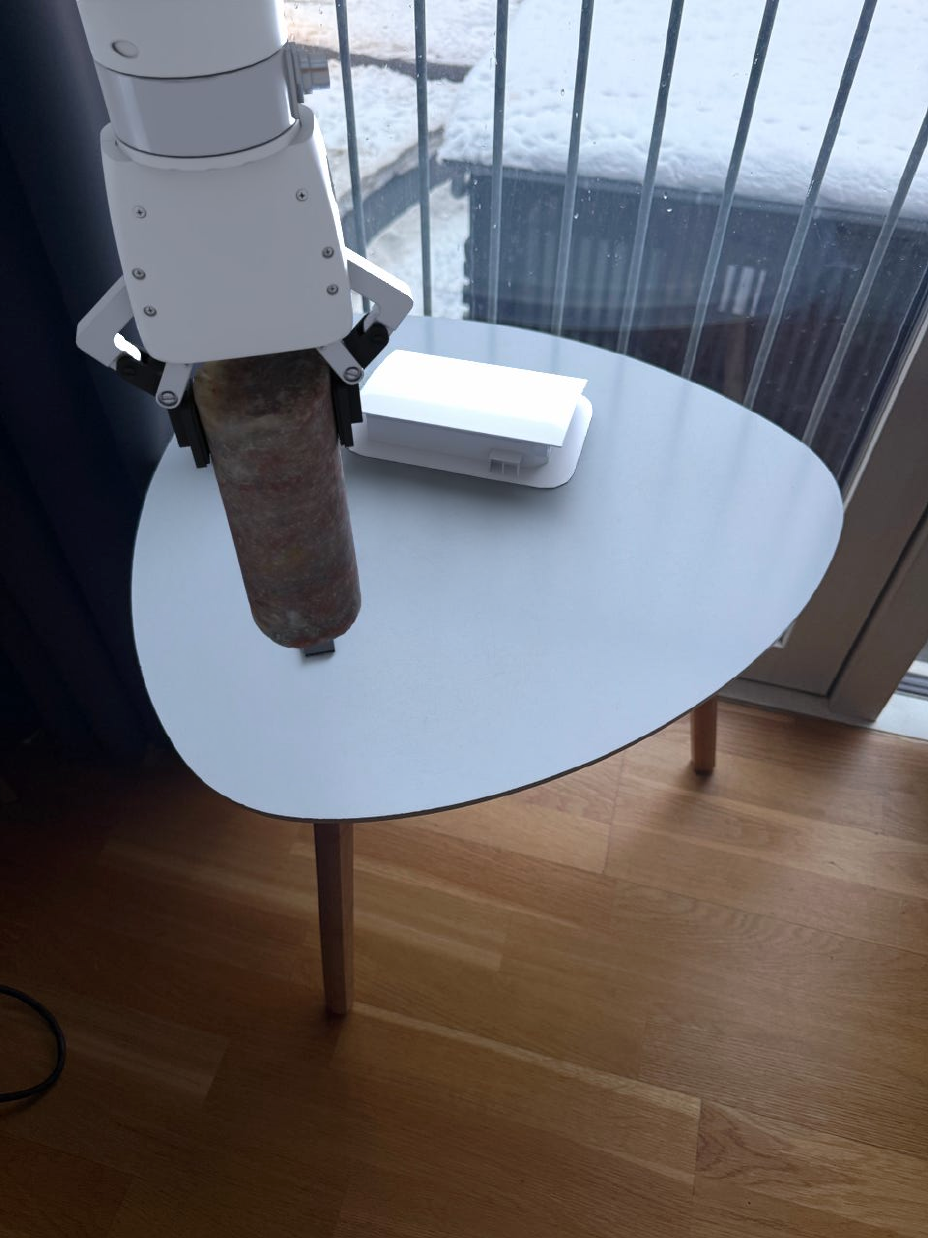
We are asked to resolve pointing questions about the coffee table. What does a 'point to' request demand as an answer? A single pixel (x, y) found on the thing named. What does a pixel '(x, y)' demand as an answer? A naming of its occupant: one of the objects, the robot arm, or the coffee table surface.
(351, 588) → the brown weathered cylinder
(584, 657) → the coffee table surface
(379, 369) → the white flat lidded device
